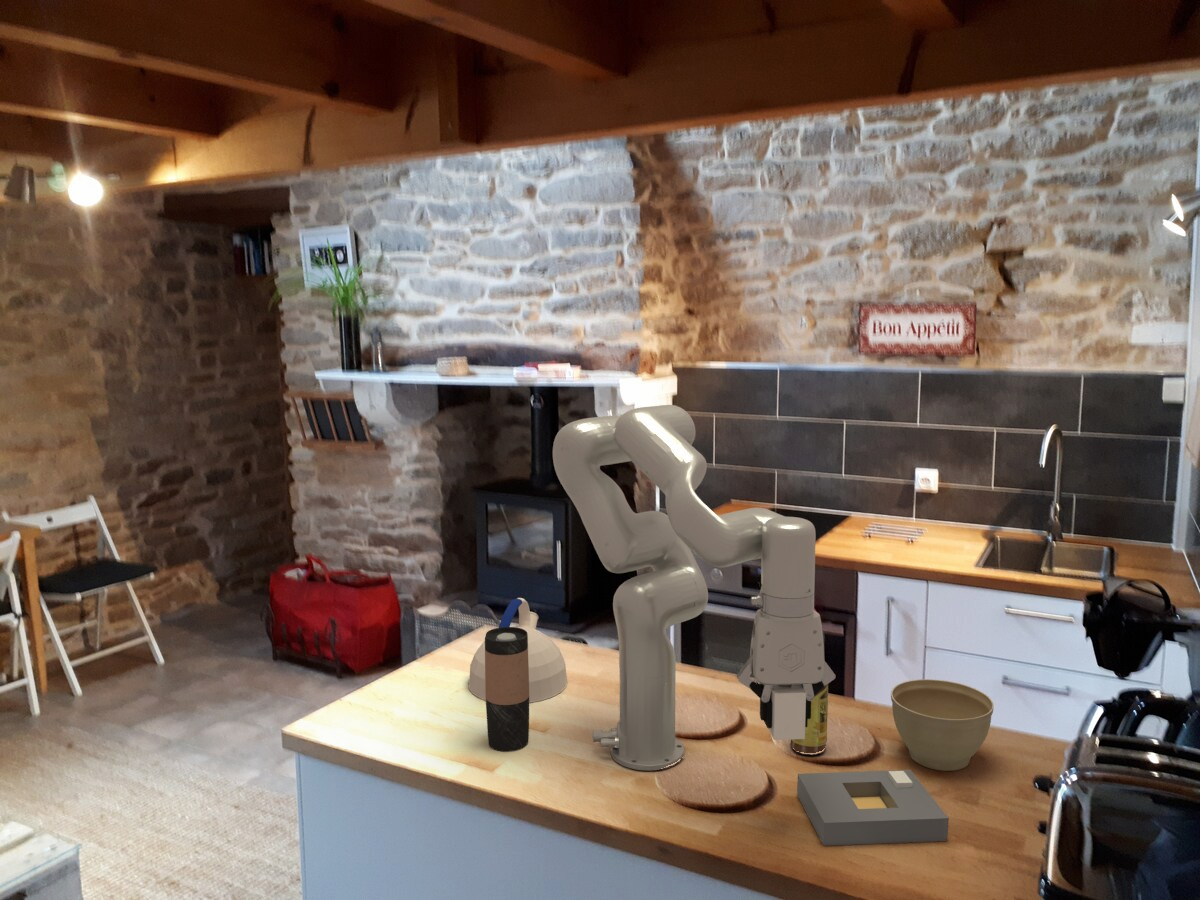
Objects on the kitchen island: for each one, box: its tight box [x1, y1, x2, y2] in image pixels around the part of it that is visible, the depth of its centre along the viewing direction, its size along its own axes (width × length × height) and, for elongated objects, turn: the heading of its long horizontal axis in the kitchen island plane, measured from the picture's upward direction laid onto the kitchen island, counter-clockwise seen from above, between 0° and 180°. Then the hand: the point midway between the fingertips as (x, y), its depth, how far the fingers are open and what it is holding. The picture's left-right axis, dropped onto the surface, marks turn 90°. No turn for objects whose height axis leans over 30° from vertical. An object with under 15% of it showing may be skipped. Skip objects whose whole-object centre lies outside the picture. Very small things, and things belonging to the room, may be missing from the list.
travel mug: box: [484, 626, 530, 753], centre depth 161 cm, size 8×8×20 cm
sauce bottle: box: [789, 683, 829, 753], centre depth 158 cm, size 6×6×20 cm
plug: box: [767, 684, 806, 741], centre depth 135 cm, size 4×6×9 cm
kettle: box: [468, 597, 569, 704], centre depth 187 cm, size 20×21×18 cm
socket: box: [796, 769, 950, 847], centre depth 138 cm, size 18×14×4 cm
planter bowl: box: [890, 678, 994, 772], centre depth 155 cm, size 16×16×11 cm
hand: (785, 722), depth 135 cm, fingers closed on plug, 4 cm apart
